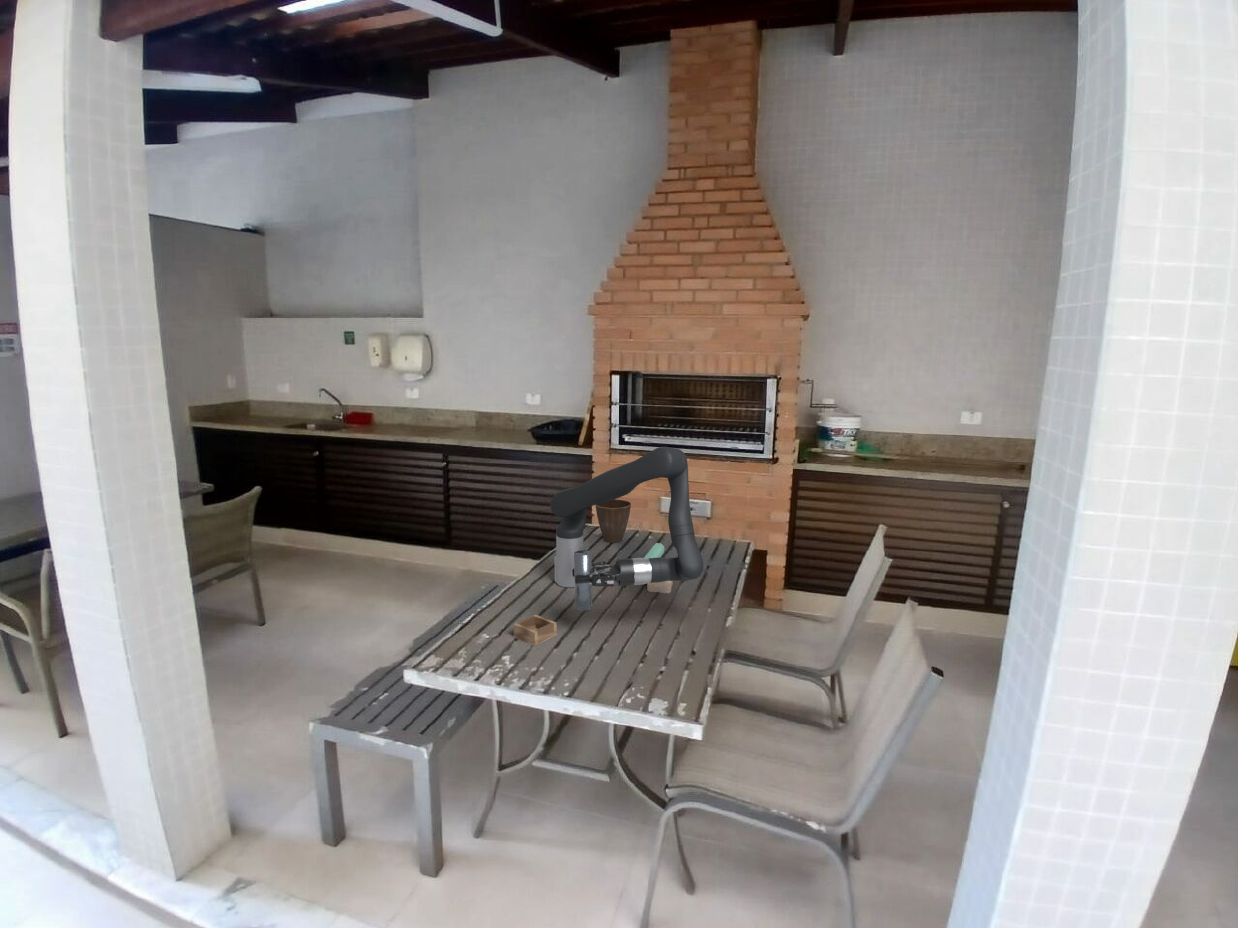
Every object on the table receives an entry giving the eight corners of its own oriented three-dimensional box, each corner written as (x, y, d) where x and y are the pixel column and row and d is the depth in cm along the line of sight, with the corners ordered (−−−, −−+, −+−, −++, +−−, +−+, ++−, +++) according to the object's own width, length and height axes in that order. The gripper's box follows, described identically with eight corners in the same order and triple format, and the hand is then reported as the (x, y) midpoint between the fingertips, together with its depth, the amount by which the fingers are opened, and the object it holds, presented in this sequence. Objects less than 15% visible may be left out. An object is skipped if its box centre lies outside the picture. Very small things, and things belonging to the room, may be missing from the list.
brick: (671, 594, 210) (671, 580, 209) (646, 592, 211) (646, 578, 211) (675, 576, 226) (675, 564, 225) (652, 575, 227) (652, 562, 227)
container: (655, 537, 250) (640, 556, 227) (669, 544, 249) (655, 564, 226) (649, 550, 252) (634, 570, 228) (663, 557, 251) (649, 578, 227)
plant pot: (591, 544, 260) (591, 507, 257) (599, 534, 275) (599, 498, 272) (627, 546, 258) (628, 508, 255) (632, 536, 272) (633, 500, 269)
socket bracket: (512, 639, 176) (512, 624, 175) (535, 628, 183) (535, 613, 182) (534, 649, 171) (534, 633, 170) (558, 637, 178) (557, 622, 177)
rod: (571, 607, 178) (570, 553, 175) (582, 602, 181) (582, 549, 178) (584, 612, 175) (583, 557, 172) (595, 606, 179) (594, 552, 175)
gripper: (627, 551, 185) (570, 554, 182) (639, 567, 172) (576, 572, 168) (627, 575, 187) (570, 579, 183) (638, 593, 173) (577, 598, 170)
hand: (573, 575), depth 176 cm, fingers closed on rod, 4 cm apart
